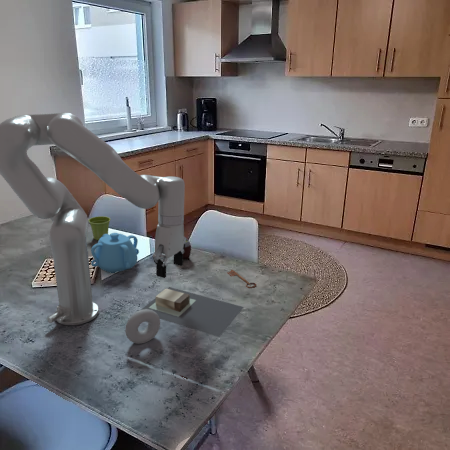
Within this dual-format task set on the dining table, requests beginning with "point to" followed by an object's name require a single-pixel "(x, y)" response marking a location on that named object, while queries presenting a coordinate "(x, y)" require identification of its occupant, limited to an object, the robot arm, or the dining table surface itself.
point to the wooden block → (172, 300)
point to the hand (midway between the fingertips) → (169, 270)
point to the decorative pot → (115, 252)
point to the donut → (137, 319)
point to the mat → (199, 313)
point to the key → (241, 278)
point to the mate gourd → (187, 250)
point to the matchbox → (181, 376)
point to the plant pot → (99, 226)
